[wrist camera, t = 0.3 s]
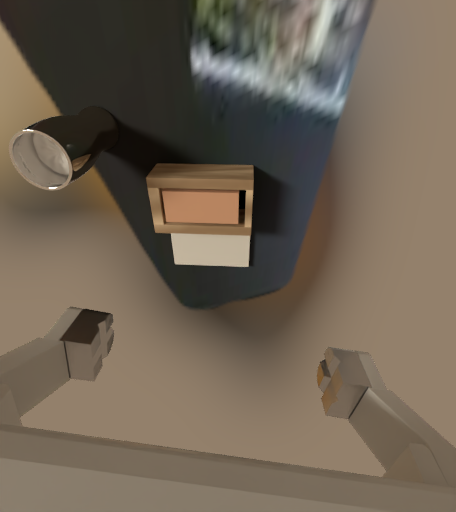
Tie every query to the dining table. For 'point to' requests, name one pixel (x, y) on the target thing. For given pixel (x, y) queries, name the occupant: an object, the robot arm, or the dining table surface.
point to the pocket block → (200, 179)
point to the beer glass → (62, 147)
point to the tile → (201, 205)
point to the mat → (211, 249)
